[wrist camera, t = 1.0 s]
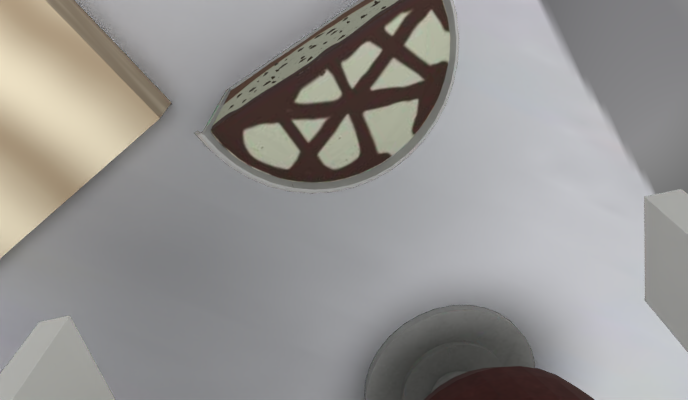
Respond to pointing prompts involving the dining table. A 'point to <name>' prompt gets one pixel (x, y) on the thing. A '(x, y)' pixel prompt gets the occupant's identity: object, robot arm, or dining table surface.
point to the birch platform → (61, 108)
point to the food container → (341, 98)
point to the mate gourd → (461, 361)
